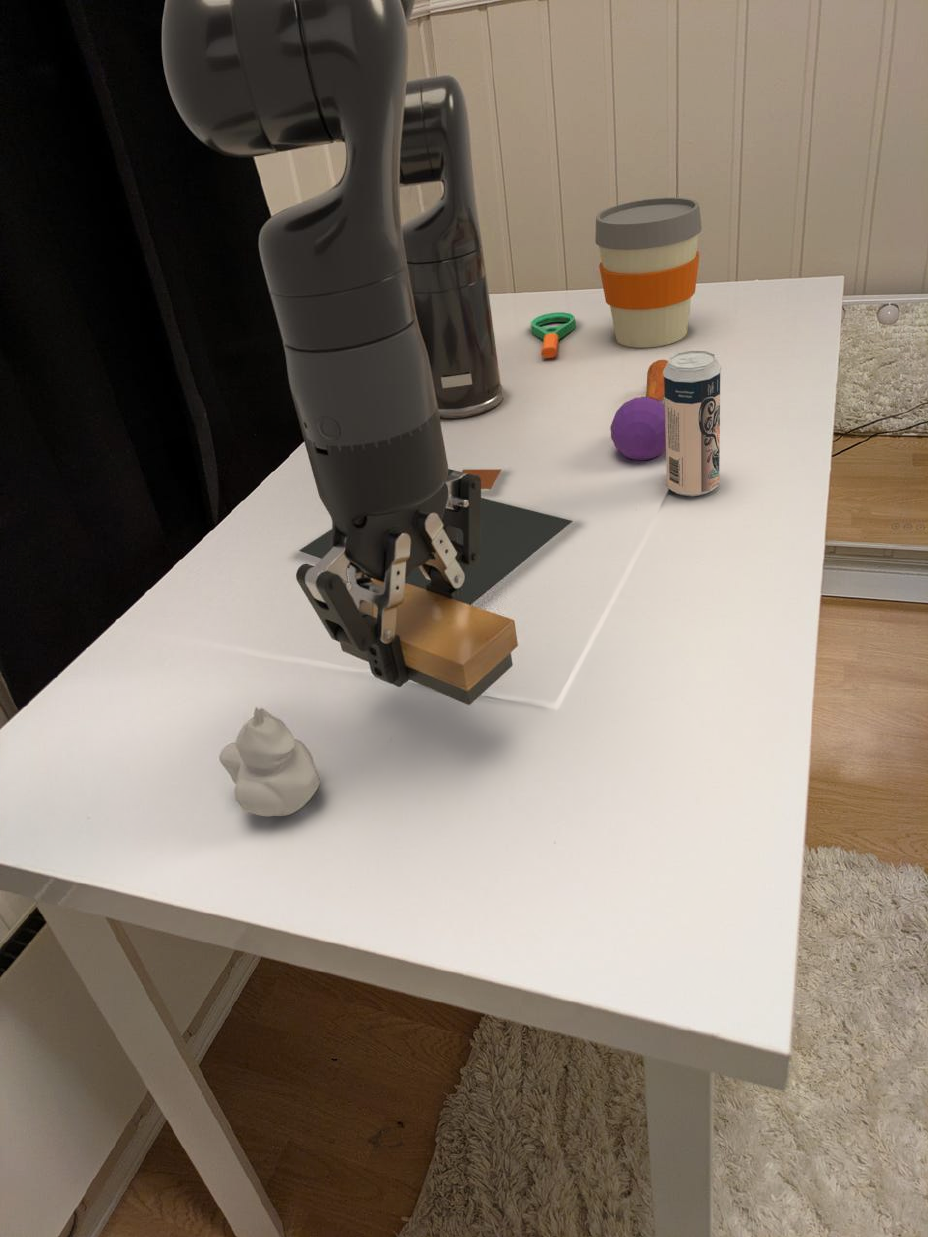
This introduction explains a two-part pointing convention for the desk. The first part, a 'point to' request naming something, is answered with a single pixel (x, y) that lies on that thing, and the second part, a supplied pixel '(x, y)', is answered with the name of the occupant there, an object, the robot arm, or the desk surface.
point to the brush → (450, 643)
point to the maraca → (643, 420)
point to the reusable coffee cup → (649, 268)
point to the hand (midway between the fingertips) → (422, 655)
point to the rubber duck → (270, 767)
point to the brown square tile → (485, 476)
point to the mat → (486, 546)
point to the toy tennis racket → (552, 330)
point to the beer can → (692, 422)
